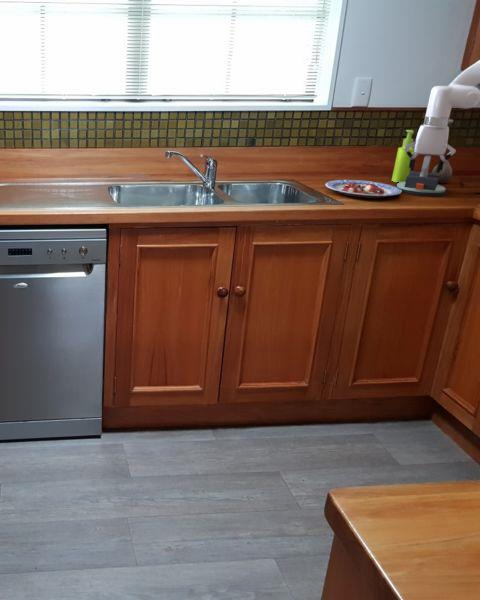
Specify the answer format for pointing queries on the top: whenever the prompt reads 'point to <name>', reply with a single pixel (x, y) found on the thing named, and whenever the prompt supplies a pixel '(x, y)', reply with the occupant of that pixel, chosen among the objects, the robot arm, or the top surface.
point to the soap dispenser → (403, 160)
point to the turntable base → (423, 193)
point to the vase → (444, 172)
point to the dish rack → (422, 180)
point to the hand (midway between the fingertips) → (424, 170)
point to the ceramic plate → (363, 188)
